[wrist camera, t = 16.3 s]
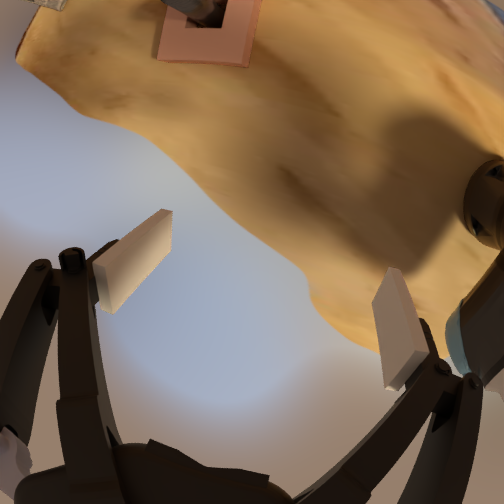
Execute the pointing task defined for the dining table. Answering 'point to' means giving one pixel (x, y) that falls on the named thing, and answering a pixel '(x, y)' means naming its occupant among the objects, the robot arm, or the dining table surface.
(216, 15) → the pin
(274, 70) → the dining table surface
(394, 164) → the dining table surface
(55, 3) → the newspaper
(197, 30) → the pink block with hole
